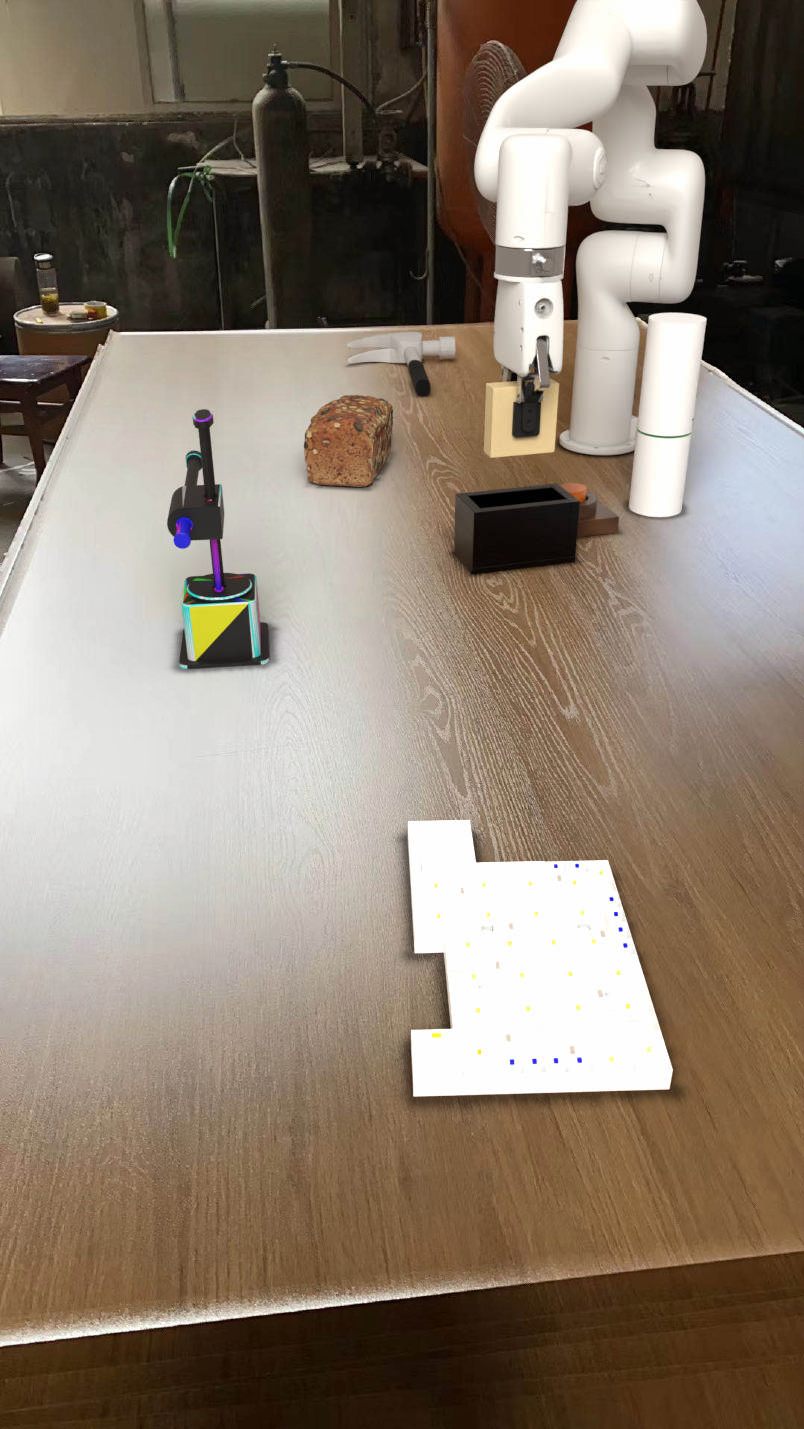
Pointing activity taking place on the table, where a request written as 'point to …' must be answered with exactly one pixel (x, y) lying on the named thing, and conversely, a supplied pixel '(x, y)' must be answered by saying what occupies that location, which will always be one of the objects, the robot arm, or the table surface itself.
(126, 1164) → the table surface
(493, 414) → the toast
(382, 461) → the bread
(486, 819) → the table surface
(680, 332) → the cylindrical container
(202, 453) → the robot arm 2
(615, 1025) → the floor plan model
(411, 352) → the claw hammer
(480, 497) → the toaster
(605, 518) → the control block
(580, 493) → the button
